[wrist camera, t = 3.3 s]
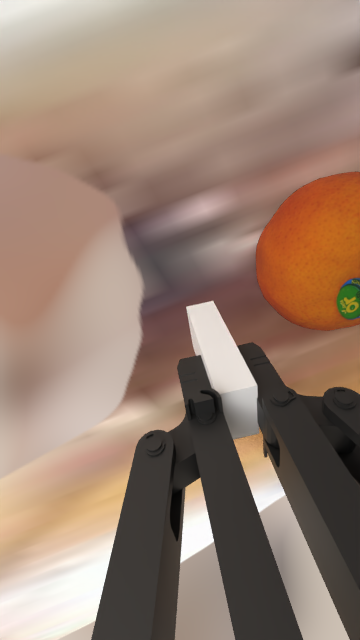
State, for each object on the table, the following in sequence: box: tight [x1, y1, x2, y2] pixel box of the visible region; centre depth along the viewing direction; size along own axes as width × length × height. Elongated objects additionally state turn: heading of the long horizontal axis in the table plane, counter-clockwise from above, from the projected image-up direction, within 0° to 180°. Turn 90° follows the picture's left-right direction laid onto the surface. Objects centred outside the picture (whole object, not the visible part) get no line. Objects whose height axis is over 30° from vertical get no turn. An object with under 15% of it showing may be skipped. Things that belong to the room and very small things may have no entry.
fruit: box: [256, 172, 360, 330], centre depth 21 cm, size 11×10×8 cm
